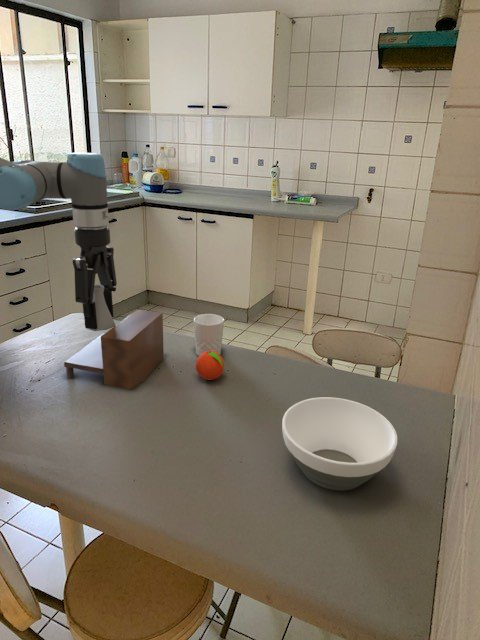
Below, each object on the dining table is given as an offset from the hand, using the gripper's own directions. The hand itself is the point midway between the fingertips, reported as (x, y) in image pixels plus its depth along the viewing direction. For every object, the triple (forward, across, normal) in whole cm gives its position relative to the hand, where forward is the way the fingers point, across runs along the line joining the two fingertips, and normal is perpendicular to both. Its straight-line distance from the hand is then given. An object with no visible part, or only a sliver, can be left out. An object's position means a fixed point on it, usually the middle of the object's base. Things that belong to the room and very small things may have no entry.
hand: (99, 322), depth 111 cm
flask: (+1, 0, 0) cm, 1 cm away
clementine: (+12, +3, -27) cm, 30 cm away
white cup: (+12, +16, -22) cm, 30 cm away
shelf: (+12, 0, -4) cm, 13 cm away
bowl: (+13, -22, -58) cm, 64 cm away
